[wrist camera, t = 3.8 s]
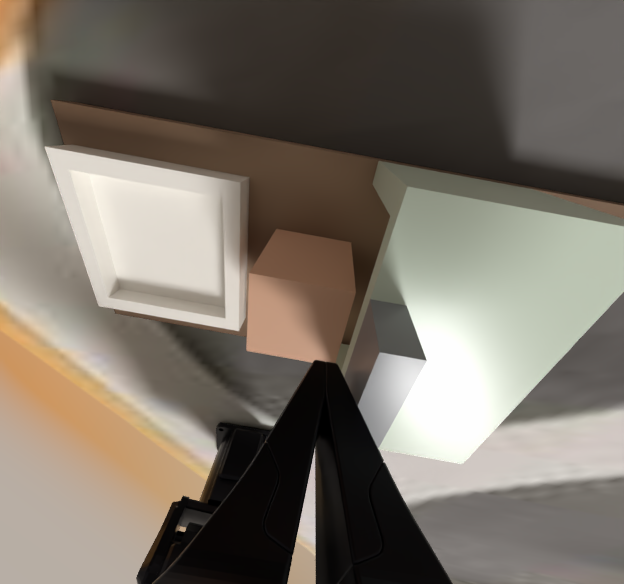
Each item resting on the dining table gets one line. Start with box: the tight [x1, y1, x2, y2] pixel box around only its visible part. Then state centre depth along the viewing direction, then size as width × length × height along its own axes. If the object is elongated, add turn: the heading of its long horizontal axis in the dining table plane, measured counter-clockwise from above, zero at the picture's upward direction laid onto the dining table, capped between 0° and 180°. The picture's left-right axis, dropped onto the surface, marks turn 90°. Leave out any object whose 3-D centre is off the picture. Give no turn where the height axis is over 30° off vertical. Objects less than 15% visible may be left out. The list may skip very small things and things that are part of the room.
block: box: [247, 229, 356, 363], centre depth 13 cm, size 4×4×5 cm
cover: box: [336, 161, 624, 464], centre depth 12 cm, size 12×7×8 cm, turn 171°
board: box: [51, 100, 624, 345], centre depth 16 cm, size 12×28×1 cm, turn 81°
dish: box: [45, 145, 250, 331], centre depth 14 cm, size 9×9×1 cm
